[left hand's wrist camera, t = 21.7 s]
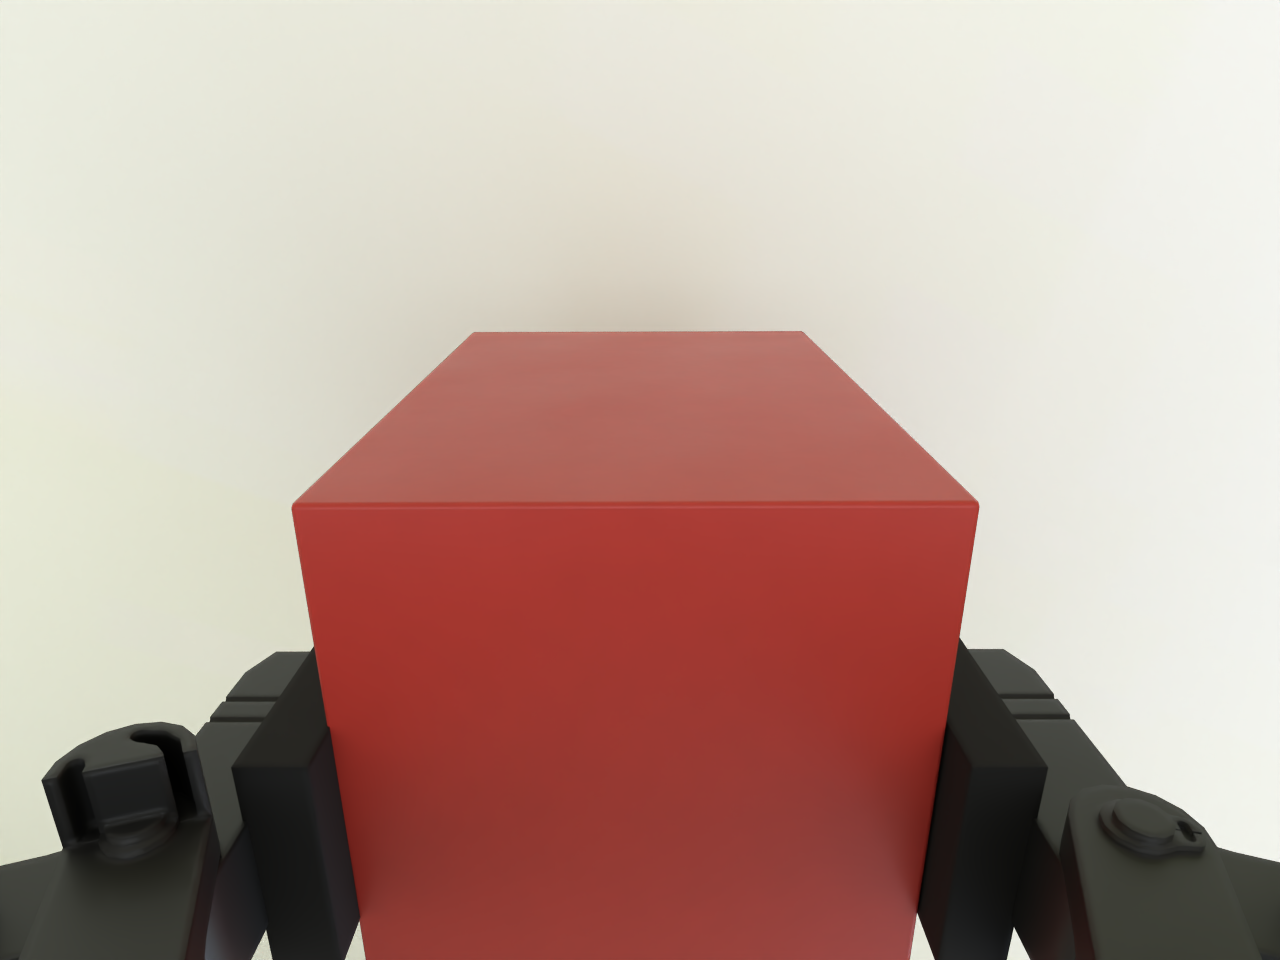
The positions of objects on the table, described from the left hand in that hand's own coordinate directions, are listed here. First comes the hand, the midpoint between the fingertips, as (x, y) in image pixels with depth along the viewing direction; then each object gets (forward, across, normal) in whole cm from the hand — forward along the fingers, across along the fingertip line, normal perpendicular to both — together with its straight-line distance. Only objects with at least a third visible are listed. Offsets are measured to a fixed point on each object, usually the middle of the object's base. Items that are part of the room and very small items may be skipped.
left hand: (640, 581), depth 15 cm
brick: (+3, 0, 0) cm, 3 cm away
